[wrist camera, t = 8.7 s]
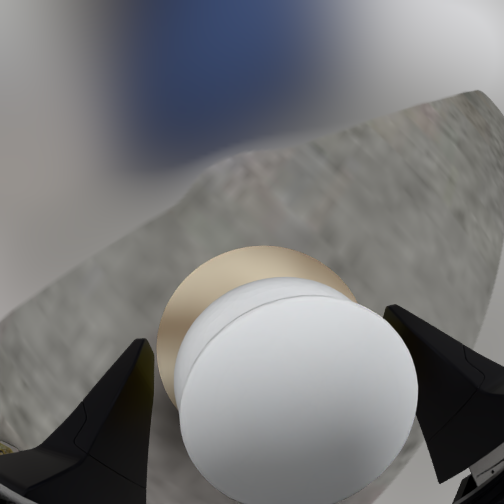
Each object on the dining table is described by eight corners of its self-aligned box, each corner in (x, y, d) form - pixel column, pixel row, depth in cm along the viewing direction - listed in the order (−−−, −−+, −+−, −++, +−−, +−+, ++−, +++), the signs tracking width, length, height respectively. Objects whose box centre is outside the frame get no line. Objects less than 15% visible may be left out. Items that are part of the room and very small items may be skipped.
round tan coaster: (343, 446, 16) (349, 453, 14) (152, 423, 16) (146, 429, 15) (368, 264, 20) (376, 260, 18) (181, 238, 20) (176, 231, 19)
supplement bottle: (272, 424, 15) (313, 566, 3) (190, 362, 16) (71, 423, 4) (337, 344, 17) (490, 356, 4) (256, 282, 18) (275, 175, 5)
